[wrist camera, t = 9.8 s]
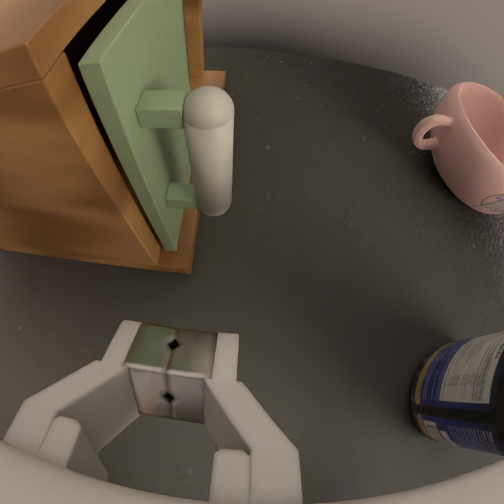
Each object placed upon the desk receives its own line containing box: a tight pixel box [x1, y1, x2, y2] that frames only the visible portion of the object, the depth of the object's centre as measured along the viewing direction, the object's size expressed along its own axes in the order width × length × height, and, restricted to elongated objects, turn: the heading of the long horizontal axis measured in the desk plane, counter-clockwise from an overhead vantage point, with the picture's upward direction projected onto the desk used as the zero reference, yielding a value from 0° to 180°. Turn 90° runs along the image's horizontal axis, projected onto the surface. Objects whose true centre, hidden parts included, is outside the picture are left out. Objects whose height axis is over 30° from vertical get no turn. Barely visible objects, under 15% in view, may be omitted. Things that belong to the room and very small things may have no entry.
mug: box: [412, 82, 504, 214], centre depth 18 cm, size 12×10×6 cm
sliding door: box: [78, 0, 234, 251], centre depth 11 cm, size 3×6×11 cm, turn 175°
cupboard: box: [0, 0, 226, 274], centre depth 12 cm, size 14×15×14 cm
